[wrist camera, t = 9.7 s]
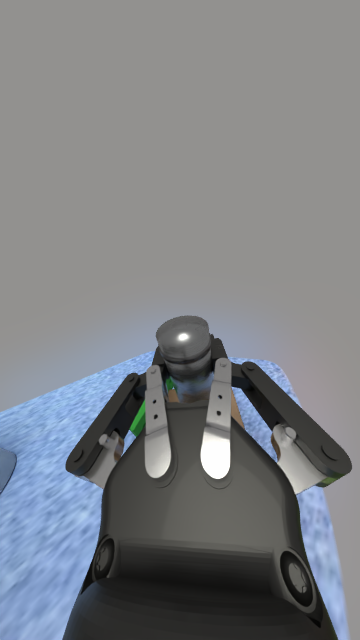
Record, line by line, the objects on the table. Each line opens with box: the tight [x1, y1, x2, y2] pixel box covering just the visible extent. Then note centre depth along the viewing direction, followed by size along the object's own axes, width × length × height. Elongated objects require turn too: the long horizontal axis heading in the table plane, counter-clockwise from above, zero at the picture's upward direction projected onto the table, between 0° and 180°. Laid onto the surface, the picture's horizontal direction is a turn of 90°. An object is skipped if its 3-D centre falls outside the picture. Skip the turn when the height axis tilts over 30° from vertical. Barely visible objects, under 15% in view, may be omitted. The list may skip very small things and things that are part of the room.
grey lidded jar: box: [156, 316, 214, 404], centre depth 13 cm, size 5×5×10 cm
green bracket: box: [129, 378, 173, 437], centre depth 24 cm, size 11×4×5 cm, turn 153°
